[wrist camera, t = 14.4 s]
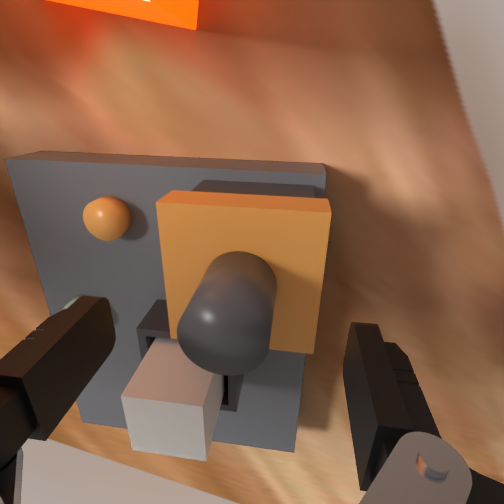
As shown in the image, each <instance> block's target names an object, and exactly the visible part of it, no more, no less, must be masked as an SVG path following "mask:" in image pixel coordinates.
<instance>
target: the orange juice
mask: <svg viewBox="0 0 504 504" xmlns="http://www.w3.org/2000/svg"><path fill="white" fill-rule="evenodd" d="M48 1H53V2H58V3H63V4H68V5H73V6H78V7H83V8H88V9H93V10H98V11H103V12H108V13H113V14H118V15H123V16H128V17H133V18H138V19H143V20H148V21H153V22H157V23H162V24H167V25H172V26H177V27H182V28H187V29H192V30H196V25H197V14H198V3H199V0H48Z"/></svg>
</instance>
